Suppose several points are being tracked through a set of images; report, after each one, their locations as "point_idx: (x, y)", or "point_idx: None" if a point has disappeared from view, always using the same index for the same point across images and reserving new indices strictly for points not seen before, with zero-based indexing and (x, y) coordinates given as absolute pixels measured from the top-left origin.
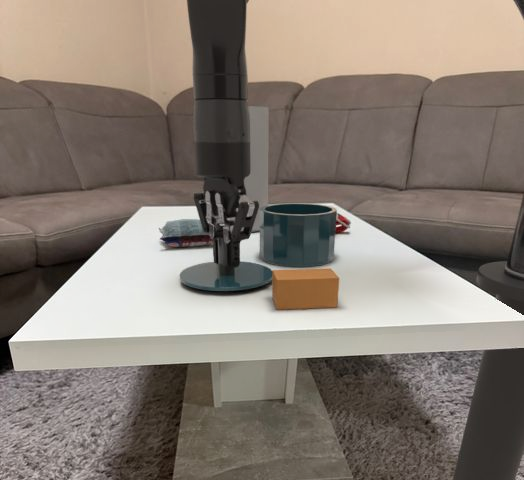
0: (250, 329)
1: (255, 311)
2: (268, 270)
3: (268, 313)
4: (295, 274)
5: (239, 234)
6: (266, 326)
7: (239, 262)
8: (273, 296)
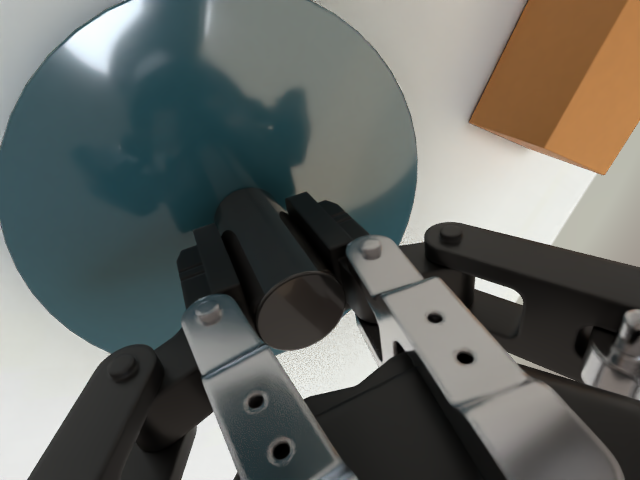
0: (551, 234)
1: (501, 199)
2: (286, 13)
3: (527, 174)
4: (621, 95)
5: (485, 293)
6: (563, 203)
7: (331, 203)
8: (500, 135)
